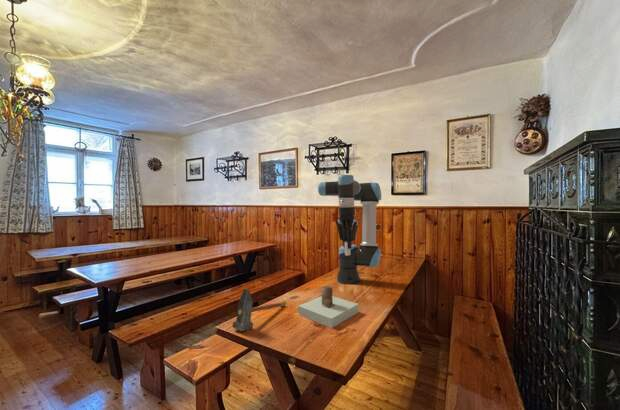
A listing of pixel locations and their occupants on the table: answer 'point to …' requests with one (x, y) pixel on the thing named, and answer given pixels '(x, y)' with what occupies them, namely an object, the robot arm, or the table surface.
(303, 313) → the board
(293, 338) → the table surface
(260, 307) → the hammer
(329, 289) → the peg
